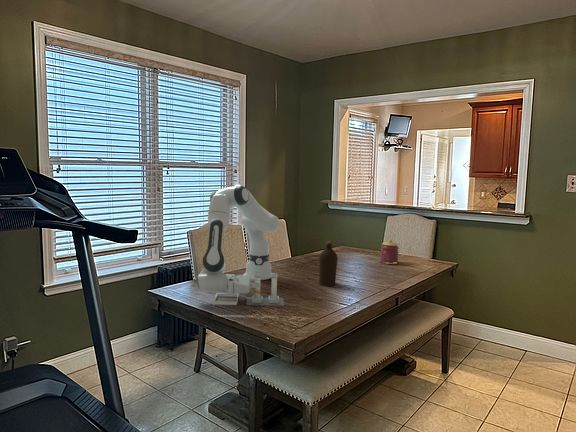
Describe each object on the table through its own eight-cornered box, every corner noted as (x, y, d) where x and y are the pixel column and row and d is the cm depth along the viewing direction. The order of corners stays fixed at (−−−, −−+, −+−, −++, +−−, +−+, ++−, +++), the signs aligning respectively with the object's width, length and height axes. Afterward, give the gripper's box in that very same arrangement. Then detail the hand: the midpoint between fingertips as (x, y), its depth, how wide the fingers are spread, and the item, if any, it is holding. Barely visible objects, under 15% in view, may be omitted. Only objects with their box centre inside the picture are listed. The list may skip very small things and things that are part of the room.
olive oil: (330, 287, 248) (332, 244, 246) (314, 284, 254) (316, 241, 252) (339, 284, 257) (341, 241, 254) (323, 280, 263) (325, 239, 260)
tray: (216, 298, 221) (216, 293, 221) (238, 298, 222) (238, 293, 221) (213, 306, 208) (213, 301, 208) (236, 306, 209) (237, 301, 209)
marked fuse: (254, 299, 217) (255, 272, 216) (260, 300, 217) (261, 272, 216) (254, 301, 214) (254, 273, 213) (260, 301, 214) (261, 273, 213)
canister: (386, 260, 330) (388, 237, 328) (401, 263, 320) (403, 239, 318) (376, 262, 321) (377, 238, 319) (391, 265, 311) (392, 241, 309)
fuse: (270, 300, 218) (271, 272, 216) (276, 300, 218) (277, 272, 216) (270, 302, 215) (271, 274, 213) (276, 302, 215) (277, 274, 213)
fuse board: (247, 299, 221) (247, 293, 221) (283, 299, 223) (283, 294, 222) (246, 306, 210) (246, 300, 209) (284, 307, 211) (284, 301, 210)
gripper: (232, 283, 225) (259, 284, 226) (229, 295, 204) (259, 296, 205) (232, 271, 224) (259, 272, 225) (229, 282, 204) (259, 283, 205)
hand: (259, 283), depth 215 cm, fingers closed on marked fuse, 3 cm apart
